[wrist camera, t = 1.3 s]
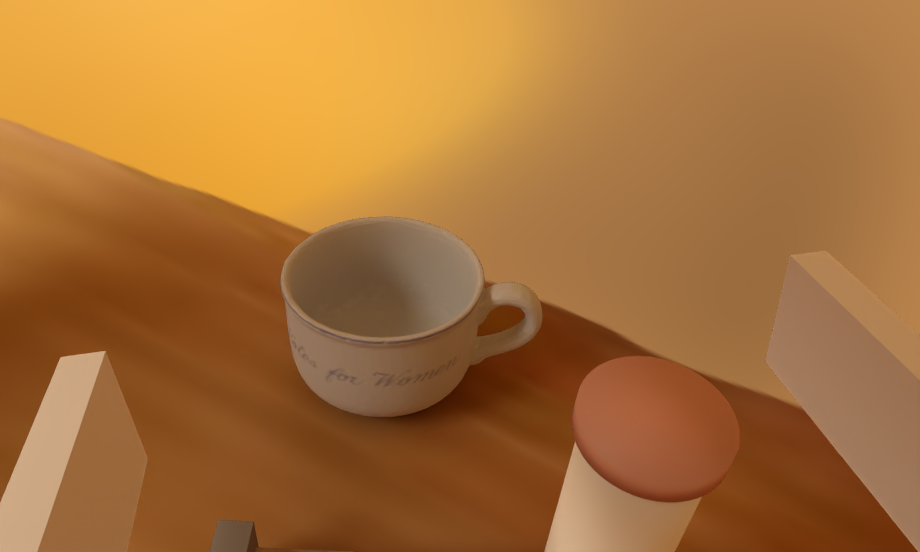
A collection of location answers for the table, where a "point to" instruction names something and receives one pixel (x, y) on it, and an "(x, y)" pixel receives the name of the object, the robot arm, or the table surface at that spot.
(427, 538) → the table surface
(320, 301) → the teacup
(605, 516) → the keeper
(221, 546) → the track
